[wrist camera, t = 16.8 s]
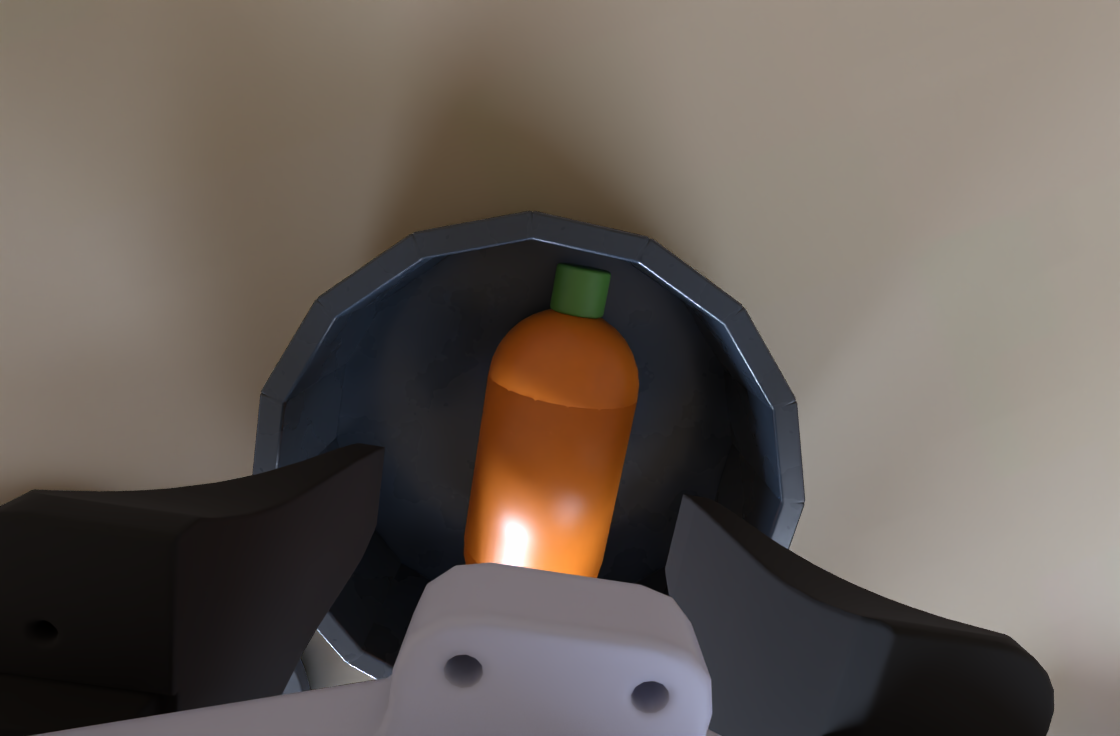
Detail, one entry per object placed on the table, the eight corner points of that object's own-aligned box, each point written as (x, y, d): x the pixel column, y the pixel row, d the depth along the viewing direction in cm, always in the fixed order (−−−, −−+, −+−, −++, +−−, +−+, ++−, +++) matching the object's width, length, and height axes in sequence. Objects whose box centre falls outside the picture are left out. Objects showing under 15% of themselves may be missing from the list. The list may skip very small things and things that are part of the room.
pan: (760, 580, 19) (821, 681, 15) (385, 641, 20) (337, 757, 15) (718, 182, 16) (779, 164, 12) (274, 264, 17) (175, 276, 12)
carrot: (570, 564, 19) (608, 651, 15) (450, 562, 18) (460, 656, 14) (629, 270, 17) (690, 289, 13) (496, 248, 16) (521, 261, 12)
